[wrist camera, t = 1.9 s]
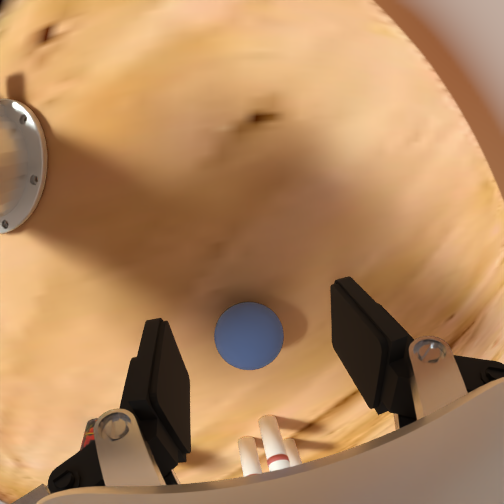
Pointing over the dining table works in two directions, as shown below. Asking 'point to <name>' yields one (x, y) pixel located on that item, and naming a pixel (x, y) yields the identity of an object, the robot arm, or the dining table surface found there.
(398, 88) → the dining table surface
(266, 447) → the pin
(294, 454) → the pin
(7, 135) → the robot arm
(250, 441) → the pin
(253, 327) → the ball
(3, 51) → the dining table surface
